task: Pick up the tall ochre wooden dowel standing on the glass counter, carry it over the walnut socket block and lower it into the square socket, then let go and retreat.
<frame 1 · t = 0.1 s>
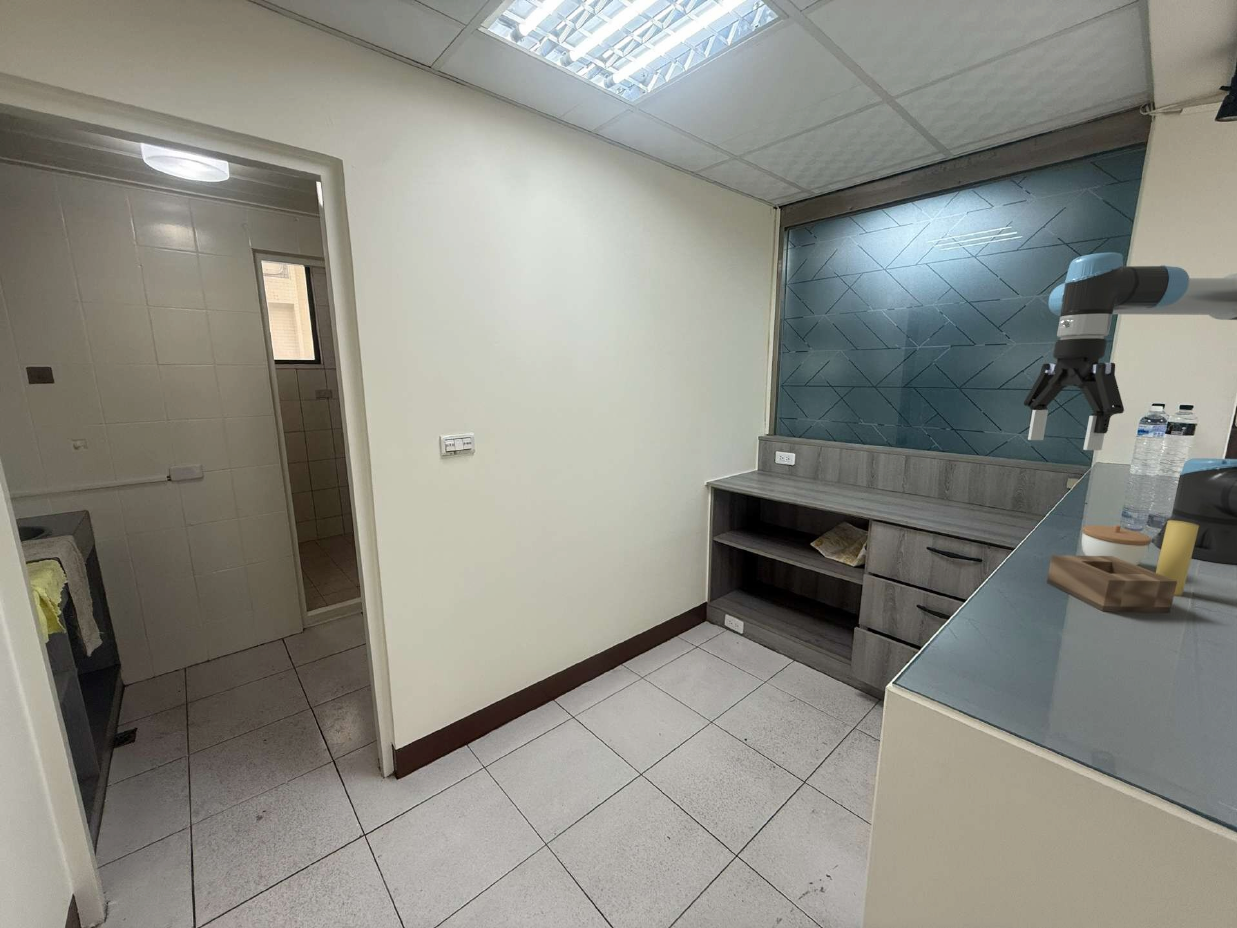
hand: (1061, 444, 100), 28 cm above the worktop, fingers open, 13 cm apart
dowel: (1167, 590, 97), on the worktop
lidded jar: (1108, 566, 110), on the worktop
socket block: (1104, 596, 94), on the worktop
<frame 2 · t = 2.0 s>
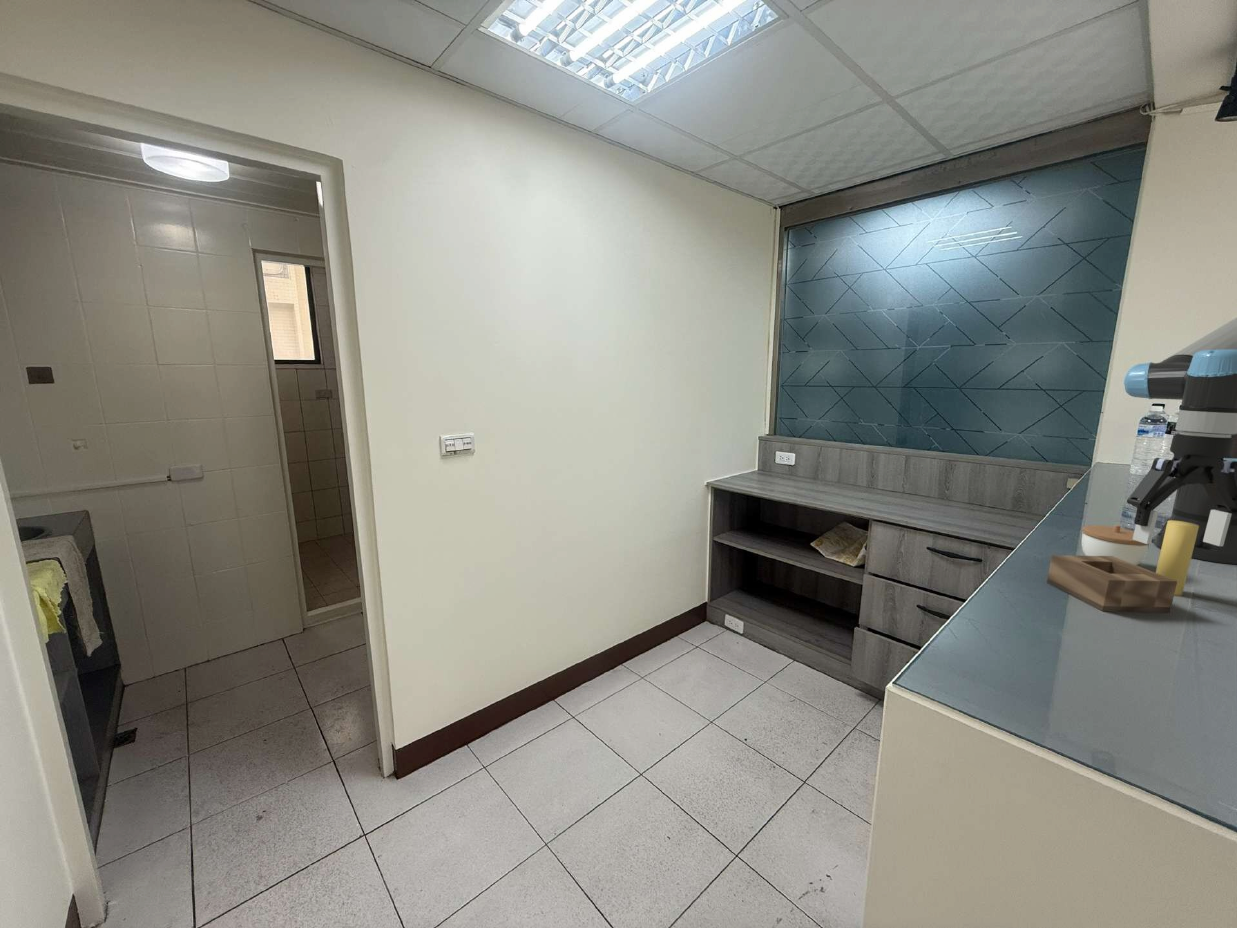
hand: (1177, 543, 95), 10 cm above the worktop, fingers open, 13 cm apart
nothing on the worktop moved.
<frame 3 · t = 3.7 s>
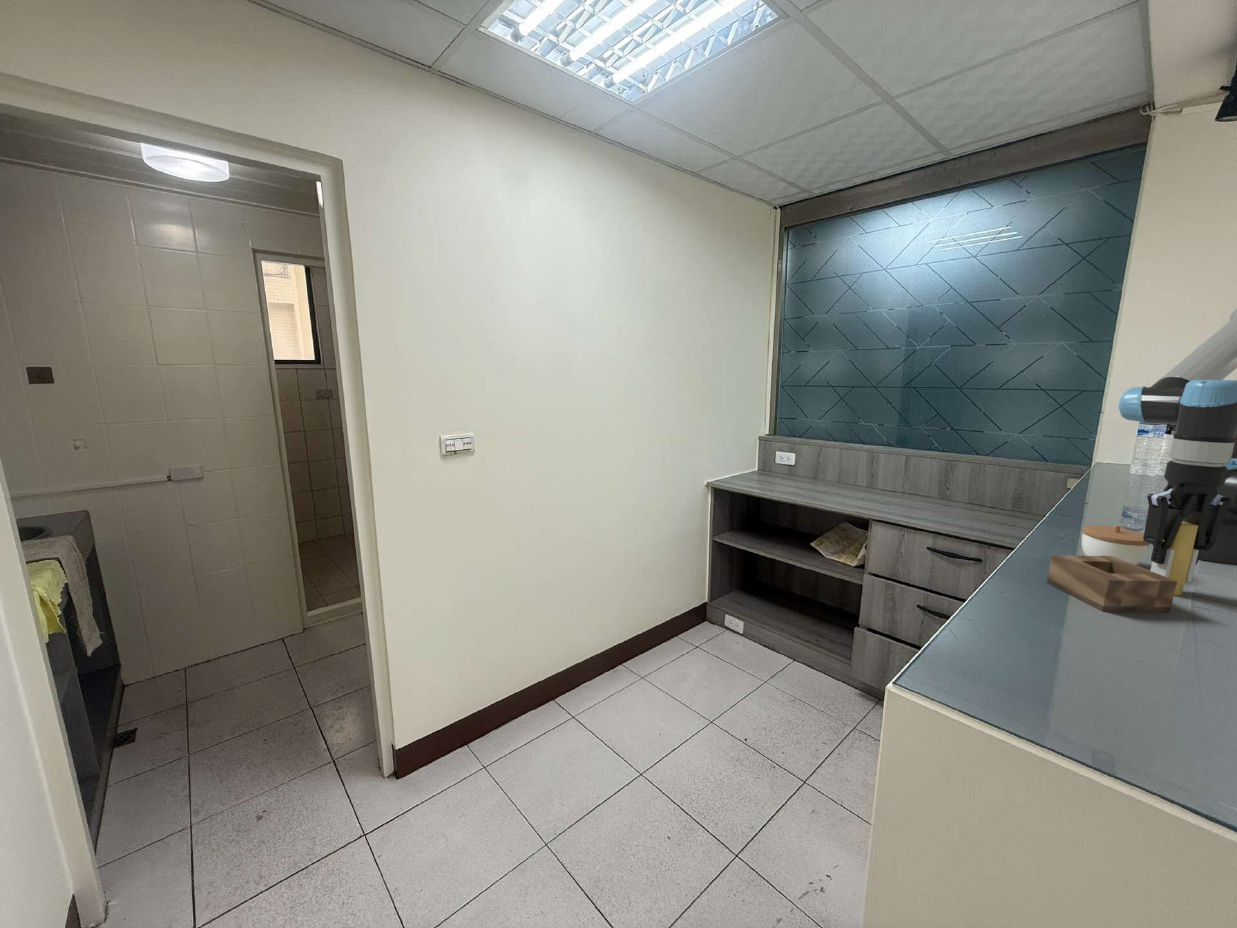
hand: (1169, 578, 96), 3 cm above the worktop, fingers closed on dowel, 4 cm apart
dowel: (1166, 590, 97), on the worktop, touching gripper
everything else where it was.
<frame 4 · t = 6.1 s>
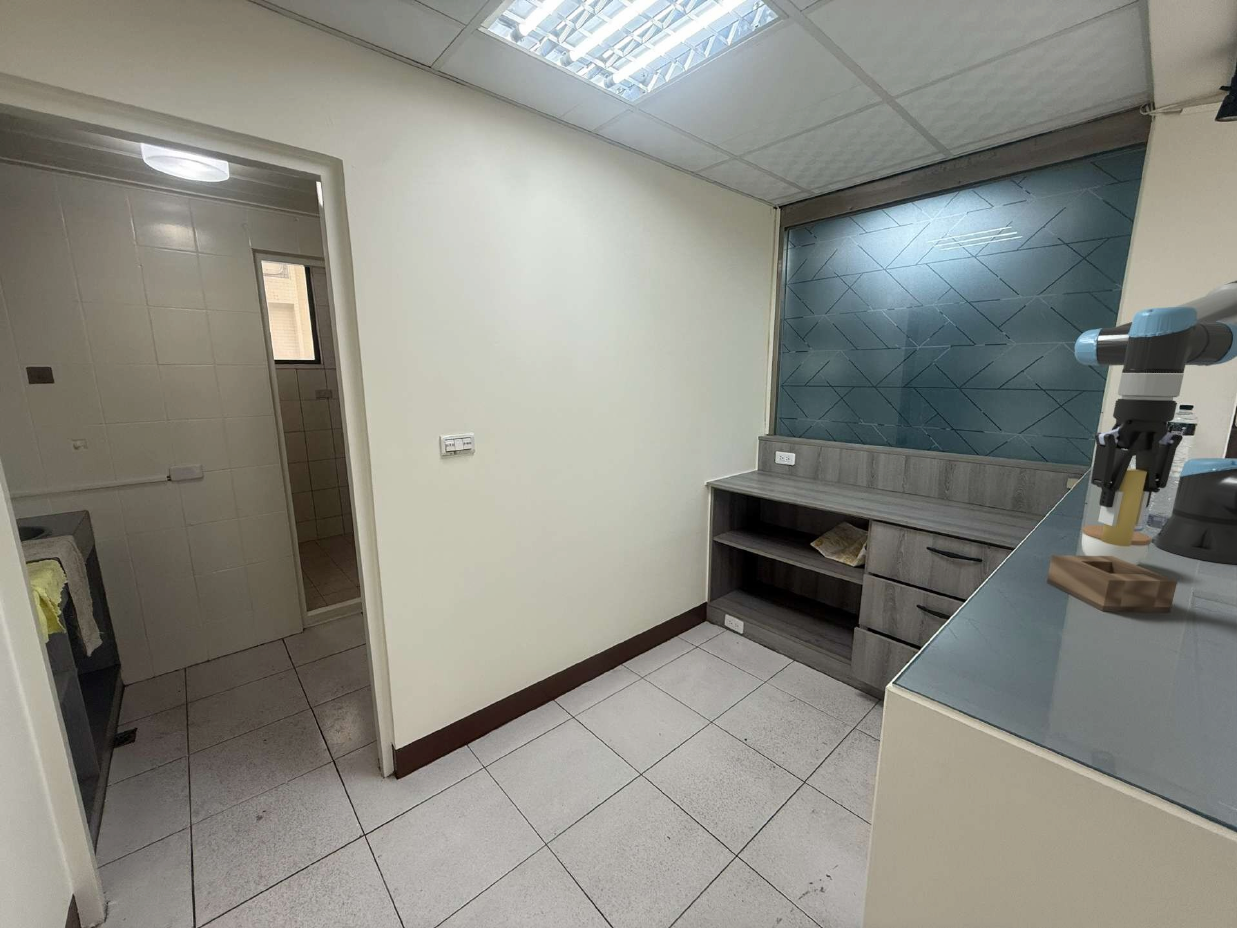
hand: (1119, 523, 91), 15 cm above the worktop, fingers closed on dowel, 4 cm apart
dowel: (1115, 542, 92), point 11 cm above the worktop, touching gripper
everything else where it was.
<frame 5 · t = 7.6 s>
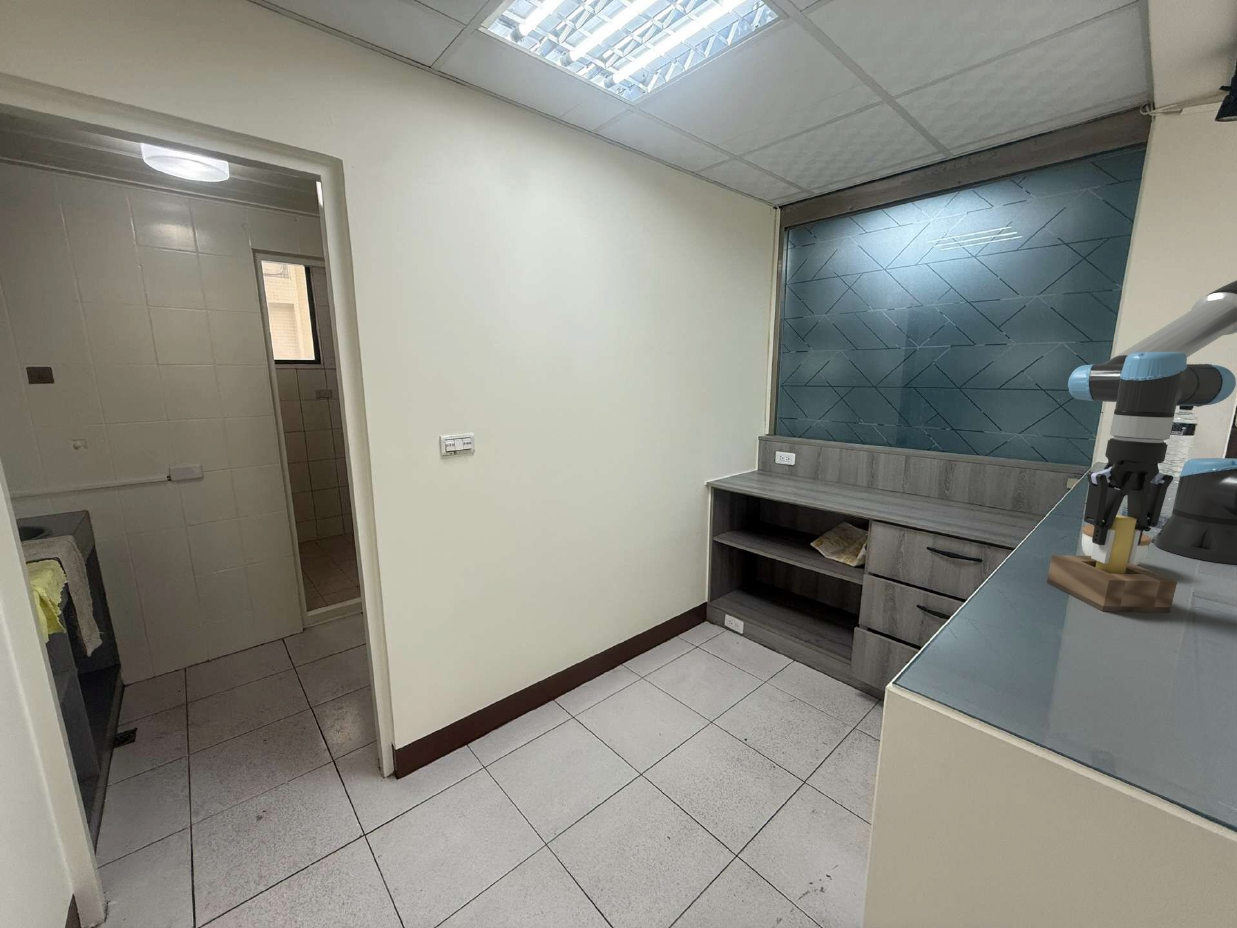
hand: (1111, 560, 93), 7 cm above the worktop, fingers closed on dowel, 4 cm apart
dowel: (1106, 587, 94), point 2 cm above the worktop, touching gripper
everything else where it was.
when the fingers open (7 cm above the worktop, at t = 8.6 s): dowel stays where it is, resting on socket block.
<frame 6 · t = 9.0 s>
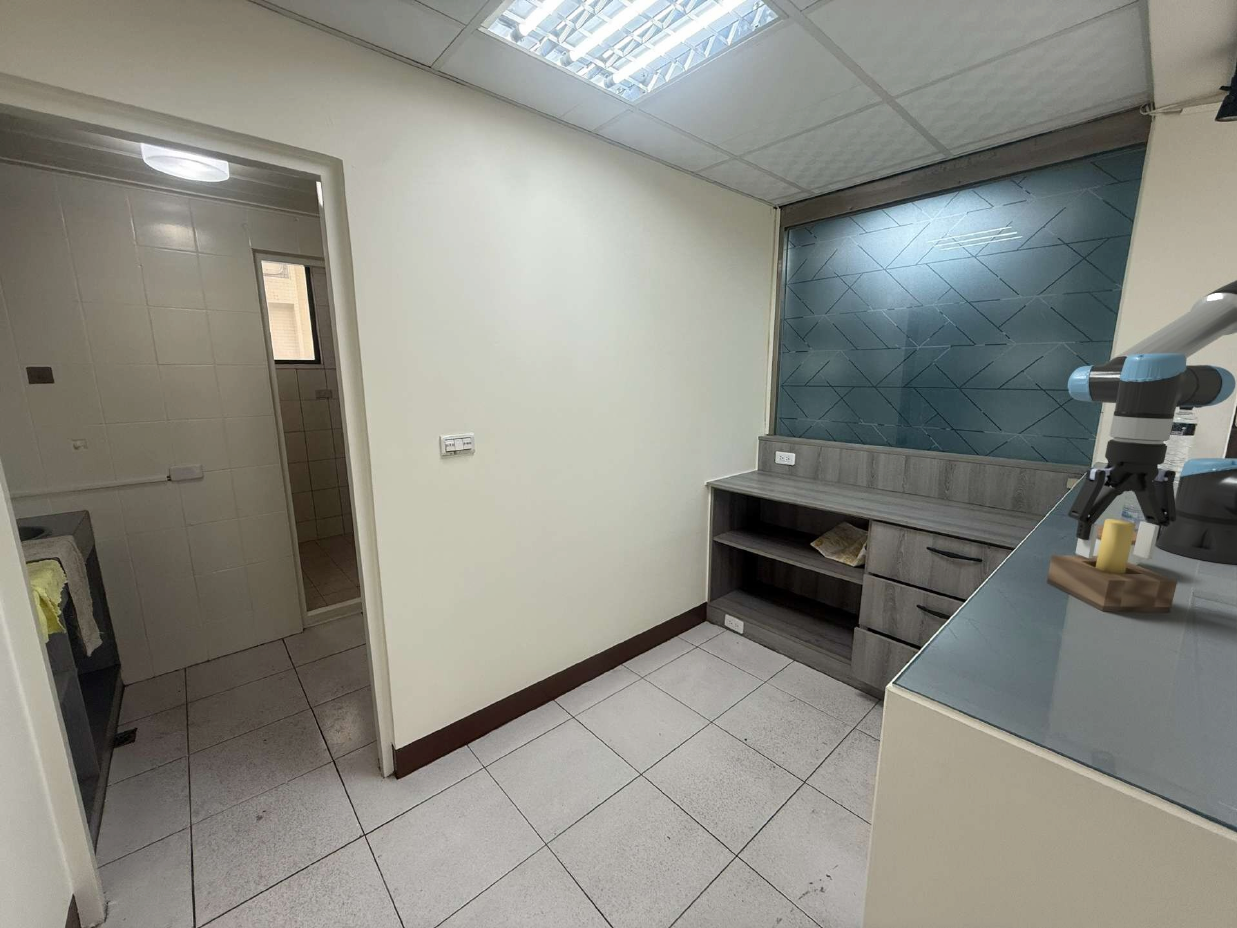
hand: (1113, 556, 93), 8 cm above the worktop, fingers open, 10 cm apart
dowel: (1105, 591, 94), point 1 cm above the worktop, touching socket block
everything else where it was.
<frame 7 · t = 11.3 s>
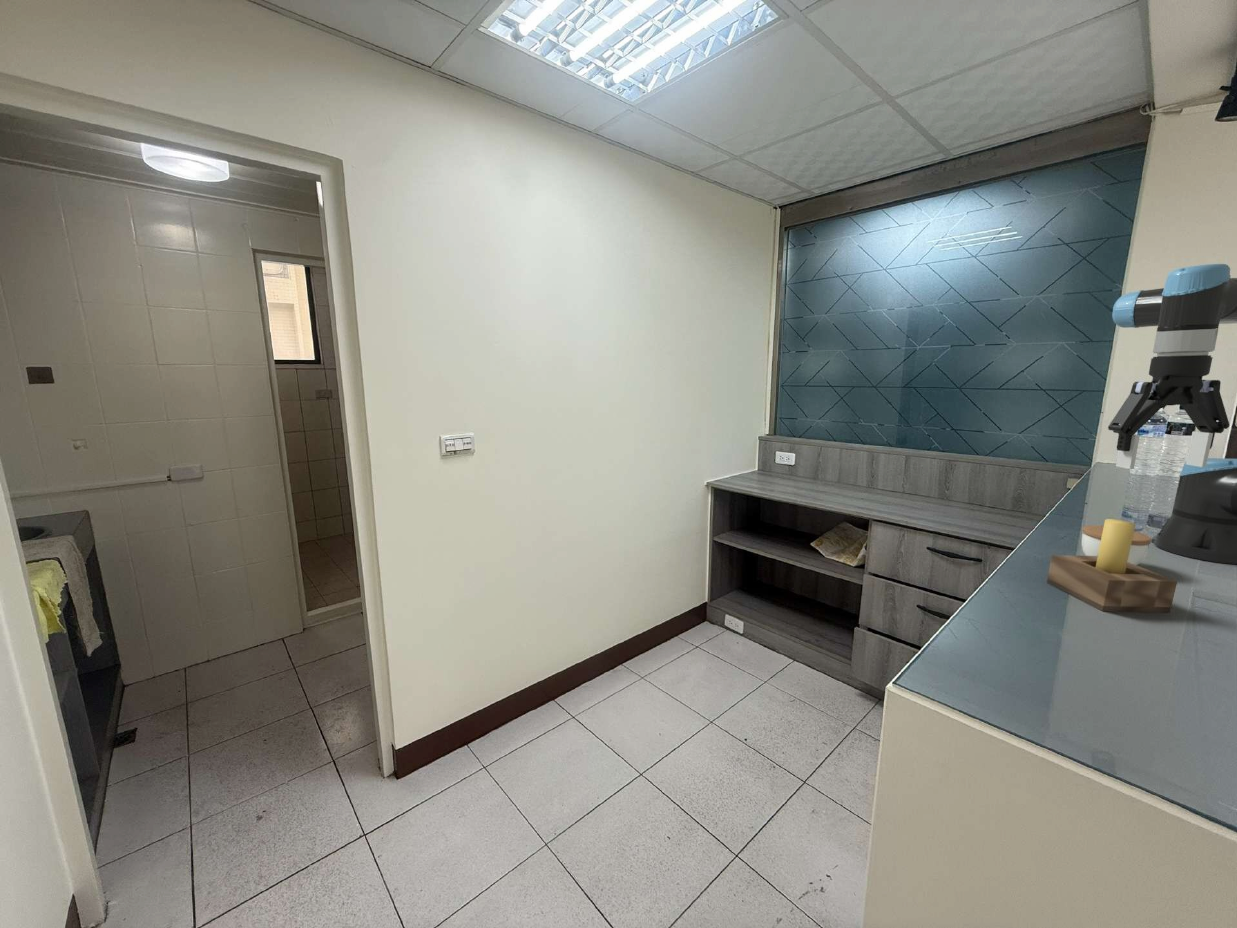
hand: (1160, 466, 95), 25 cm above the worktop, fingers open, 13 cm apart
nothing on the worktop moved.
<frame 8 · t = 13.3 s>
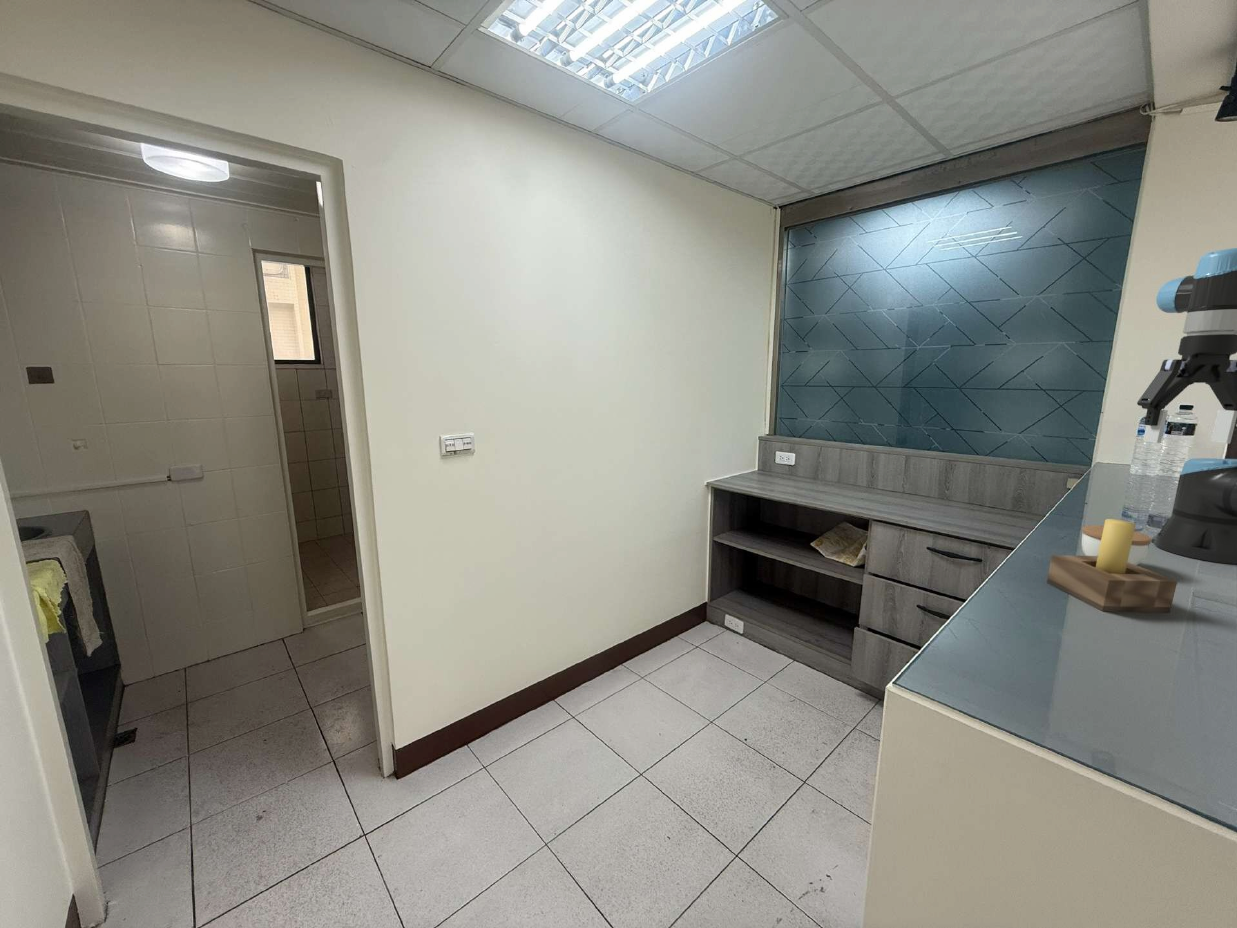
hand: (1185, 442, 99), 29 cm above the worktop, fingers open, 13 cm apart
nothing on the worktop moved.
at the end: dowel 0.0 cm off-centre on the socket block, point 1.0 cm above the socket block's base; dowel tilted 0°; the gripper is holding nothing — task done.
